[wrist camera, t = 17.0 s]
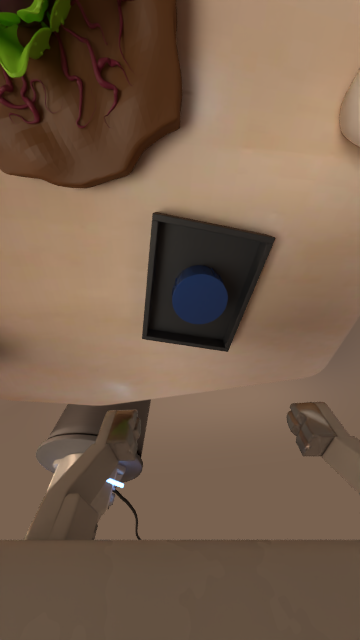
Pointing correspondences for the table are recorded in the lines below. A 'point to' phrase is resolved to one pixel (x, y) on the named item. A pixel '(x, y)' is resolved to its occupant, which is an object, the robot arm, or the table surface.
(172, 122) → the plant
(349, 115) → the apple
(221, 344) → the tray
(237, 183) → the table surface
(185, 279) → the jar lid
